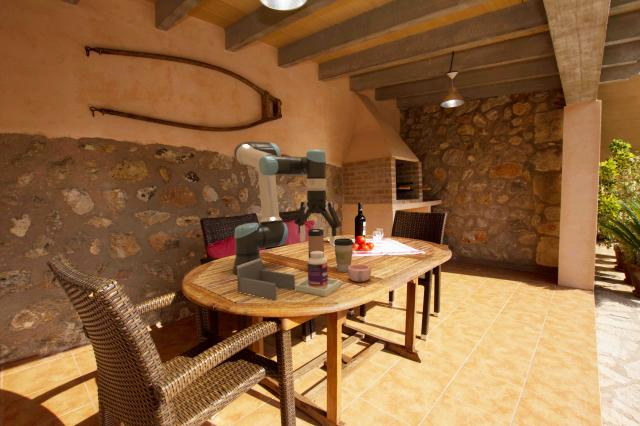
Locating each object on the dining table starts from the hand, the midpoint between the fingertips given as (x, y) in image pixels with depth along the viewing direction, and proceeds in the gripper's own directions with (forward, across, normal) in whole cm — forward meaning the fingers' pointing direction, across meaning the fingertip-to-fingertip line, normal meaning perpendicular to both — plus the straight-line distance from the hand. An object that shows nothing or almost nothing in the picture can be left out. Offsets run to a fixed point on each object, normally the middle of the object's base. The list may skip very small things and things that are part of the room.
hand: (317, 242), depth 121 cm
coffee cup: (+19, -1, +28) cm, 34 cm away
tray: (+19, +1, 0) cm, 19 cm away
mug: (+19, +11, +18) cm, 28 cm away
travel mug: (+20, -13, +22) cm, 32 cm away
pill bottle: (+18, 0, 0) cm, 19 cm away
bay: (+19, -17, -12) cm, 28 cm away
